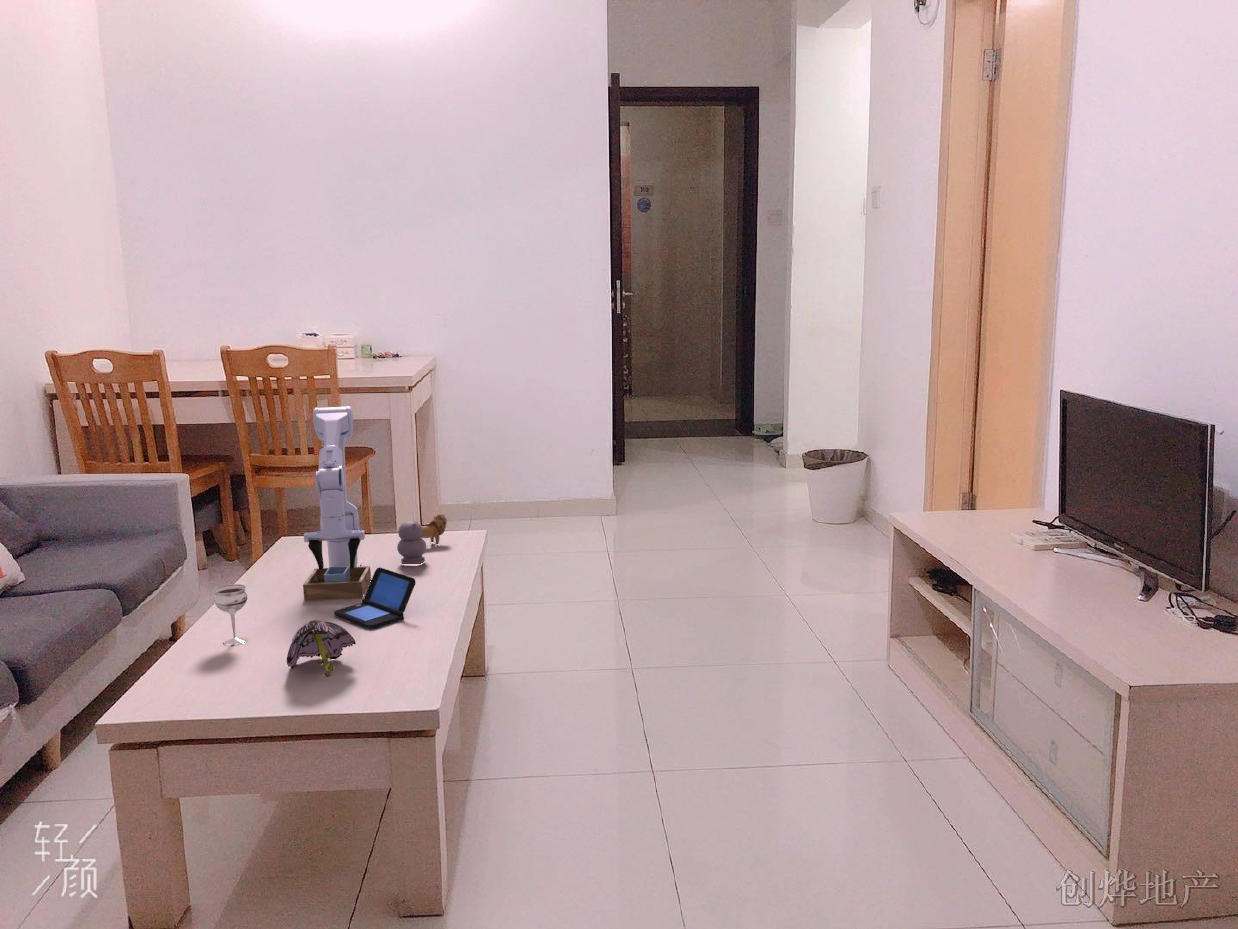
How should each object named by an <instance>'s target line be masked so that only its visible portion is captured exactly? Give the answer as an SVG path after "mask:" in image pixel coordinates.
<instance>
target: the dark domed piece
mask: <svg viewBox="0 0 1238 929" xmlns="http://www.w3.org/2000/svg"><path fill="white" fill-rule="evenodd" d="M356 644H357V643H356V640H355V638H354V637H353V636H352V635H351V633H349V631H347V630H346V629H345V628H344V627H342V626H340V625H339V624H337V623H334V622H330V621H321V620H319V619H313V620H310V621H309V622H308V623H306V624H305V625H303V626H301V627H300V628H299V629H298V630H297V632H296V633H295V634H294V636H293V638H292V639H291V644H290V646H289V648H288V650H287V651H288V652H287V655H286V665H287V667H288V668H289V667H290V668H291V669H292V670H294V667H295V665H296V664H297V663H298V662H299V661H298V660H299V659H300V658H305V657H306V658H311V659H312V658H313V657H319V659H318V660H317V663H318V665H323V666H325V669H326V671H325V672H324V675H326V676H325V677H328V676H327V675H330V676H331V672H332V671H333V670H334V664H333V663H330V661H329V660H331V659H335V660H336V659H338V658H340V657H341V656H342V655H343V654H342V653H343V652H342V651H343V650H344V649H343V648H346V647H353V645H356ZM320 657H321V658H320Z"/></svg>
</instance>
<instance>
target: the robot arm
mask: <svg viewBox="0 0 1238 929" xmlns="http://www.w3.org/2000/svg"><path fill="white" fill-rule="evenodd" d="M312 410H313V411H312V420H313V428H314V430H315V433H316V437H317V439H318V440H320V441H323V447H322V448H320V450H319V452H318V469H317V470H316V471H315V486H316V491H317V497H318V499H319V507H320V508H319V509H320V510H319V511H320V520H319V521H320V522H319V525H320V526H319V528H320V529H319V530H320V531H312V532H305V533H304V534H303V541H304V543H308V546H307V547H308V548H309V550H310V552H311V553H312V554H313V556H314V559H315V561H316V564H317V566H318V567H317V568H319V570H322V569H323V568H325V567H324V558H323V541H324V542H327V545H326V546H327V556H328V566H329V567H338V566H349V567H350V569H351V568H354V567H357V564H358V562H359V560H358V548H359V546H360V543H361V541H362V540H365V538H366V534H365V530H361V529H360V527H361V526H360V516H359V509H358V508H357V506H356V505H354V504H353V503H351V502H349V501H348V497H347V495H348V494H347V493H348V491H347V490H348V489H347V475H346V453H345V452H346V451H345V450H346V443H347V441H348V440H350V439H351V438H353V435H354V417H353V416H354V415H353V409H352V407H351V406H350V405H346V406H335V407H334V406H333V407H330V406H329V407H315V408H313V409H312ZM361 563H362V562H361ZM361 563H360V564H361ZM361 565H362V564H361ZM329 567H328V568H329ZM358 567H359V566H358Z"/></svg>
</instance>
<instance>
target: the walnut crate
mask: <svg viewBox="0 0 1238 929" xmlns="http://www.w3.org/2000/svg"><path fill="white" fill-rule="evenodd" d="M328 568H329V567H324V568H323V569H322V570H319V567H317V568H314V569H313V570H312V572H311V573H310V575H309V576H308V577H307V579H306V580H305V582H304V583H303V584H302V588H303V601H323V600H324V601H326V600H346V599H363V598H364V596H365V594H366V592H367V590H368V587H369V586H368V585H370V584H369V583H370V581H371V580H372V574H371V566H370V565H368V566H367V565H366V566H364V565H363V566H360V567H354V568H351V569H350V580H351V582H335V583H324V574H325V573H326V571H327V570H328ZM366 589H367V590H366ZM363 595H364V596H363ZM362 597H363V598H362Z"/></svg>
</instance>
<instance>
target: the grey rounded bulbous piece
mask: <svg viewBox="0 0 1238 929" xmlns="http://www.w3.org/2000/svg"><path fill="white" fill-rule="evenodd" d="M397 533H398V537H399V538H400V540H399V541H398V543H397V547H396V550H397V552H398V554H399V555H400V556H401V557H402V558H401V559H400V562H401V563H402V564H421V563H423V562H424V561H425V562H426V558H425V556H423V555H424V553H425V552H426V551H427V543H426V541H425V540H424V538H421V537H422V534H423V529H422V525H421V524H420V523H419V522H417V521H415V520H414V518H411V520H406V521H404V522H403V523H402V524H400V526H399V527H398V531H397ZM401 563H400V564H401Z"/></svg>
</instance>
